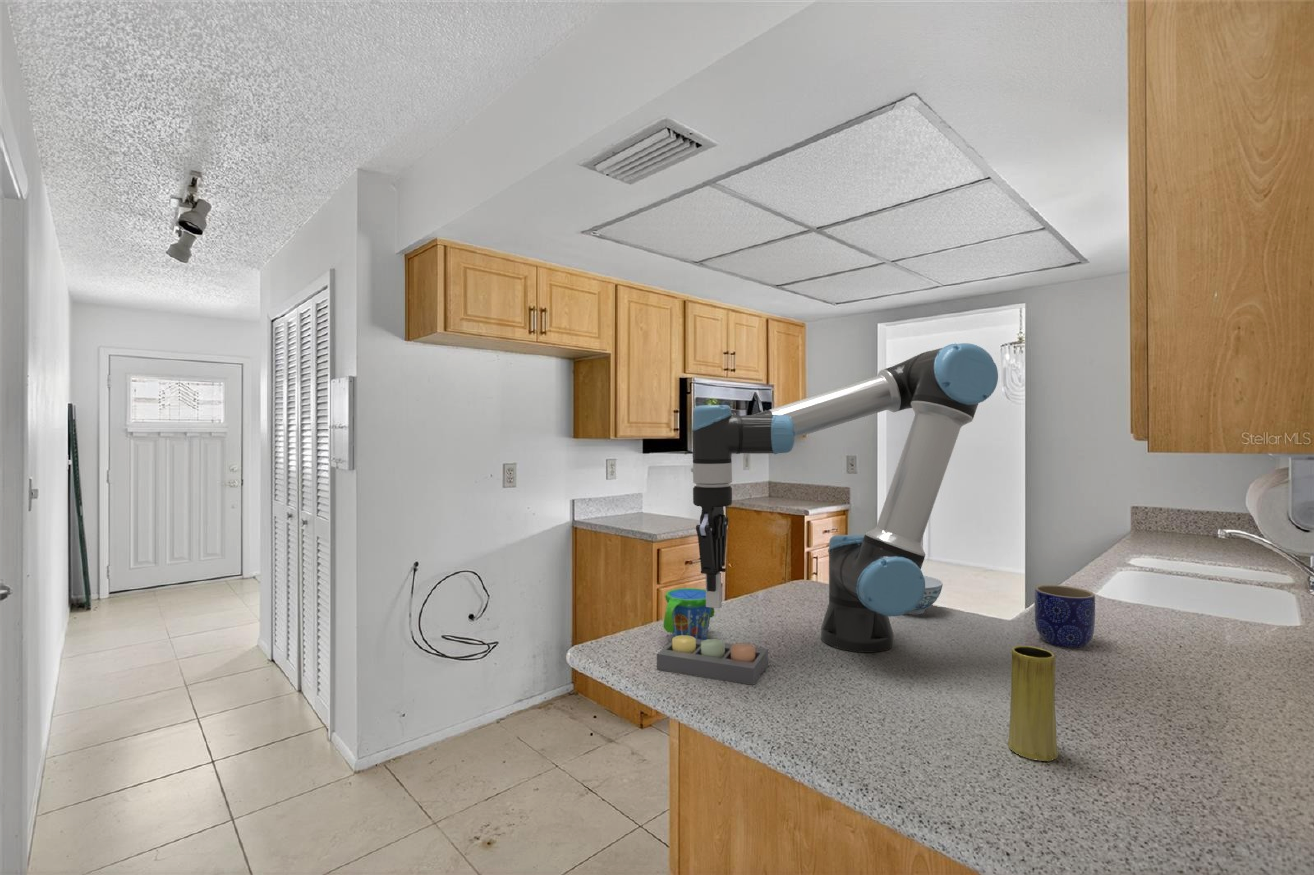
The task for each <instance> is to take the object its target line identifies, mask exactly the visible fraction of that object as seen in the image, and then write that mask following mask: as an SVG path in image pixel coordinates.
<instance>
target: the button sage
mask: <svg viewBox="0 0 1314 875" xmlns="http://www.w3.org/2000/svg"><path fill="white" fill-rule="evenodd" d="M725 643H726V642H725V641H723V640H721V639H717V638H710V639H709V638H707V639H706V640H703V641H702V642H701V655H705V656H712V657H719V658H722V657H723V656H724V655H725Z"/></svg>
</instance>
